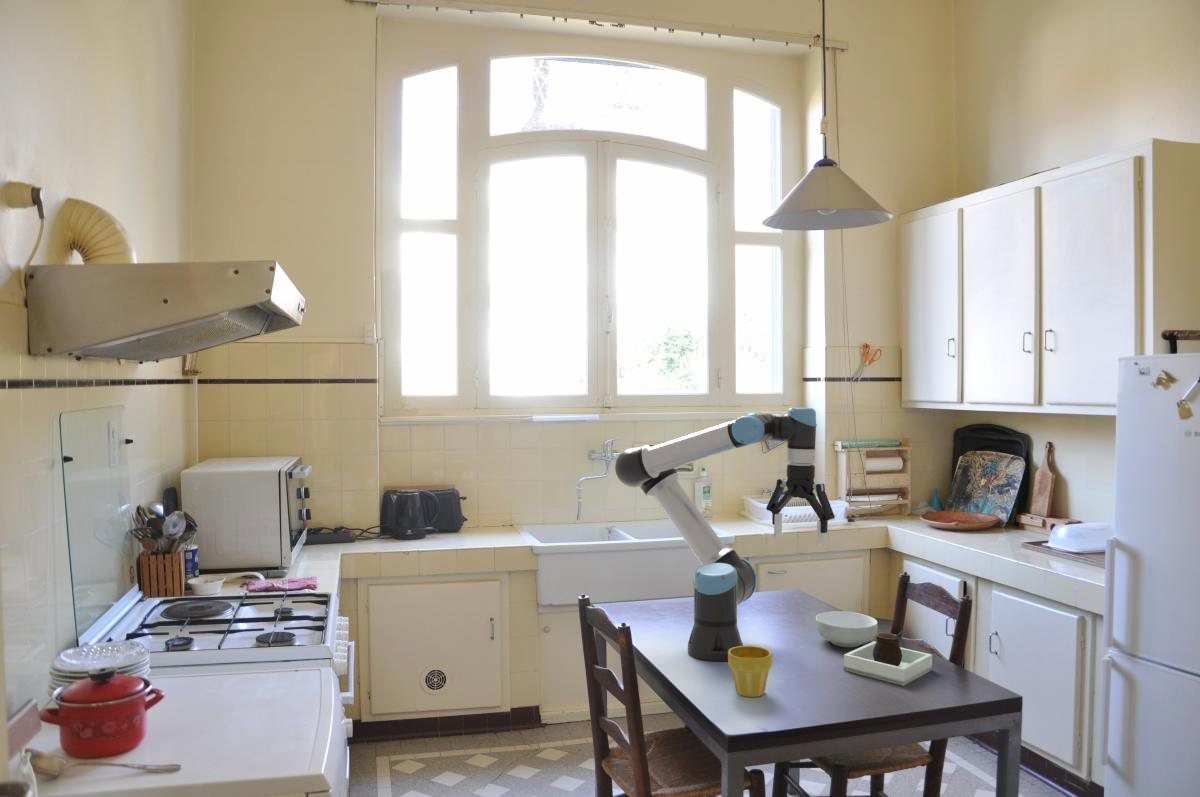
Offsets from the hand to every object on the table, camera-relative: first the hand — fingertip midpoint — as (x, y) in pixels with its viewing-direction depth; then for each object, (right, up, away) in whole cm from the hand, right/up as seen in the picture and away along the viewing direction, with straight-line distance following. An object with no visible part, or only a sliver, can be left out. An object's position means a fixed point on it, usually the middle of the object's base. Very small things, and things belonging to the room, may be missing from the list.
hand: (798, 540), depth 235 cm
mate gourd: (+19, -30, -16) cm, 39 cm away
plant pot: (-19, -31, -31) cm, 48 cm away
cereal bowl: (+15, -30, +7) cm, 35 cm away
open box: (+19, -31, -16) cm, 39 cm away
